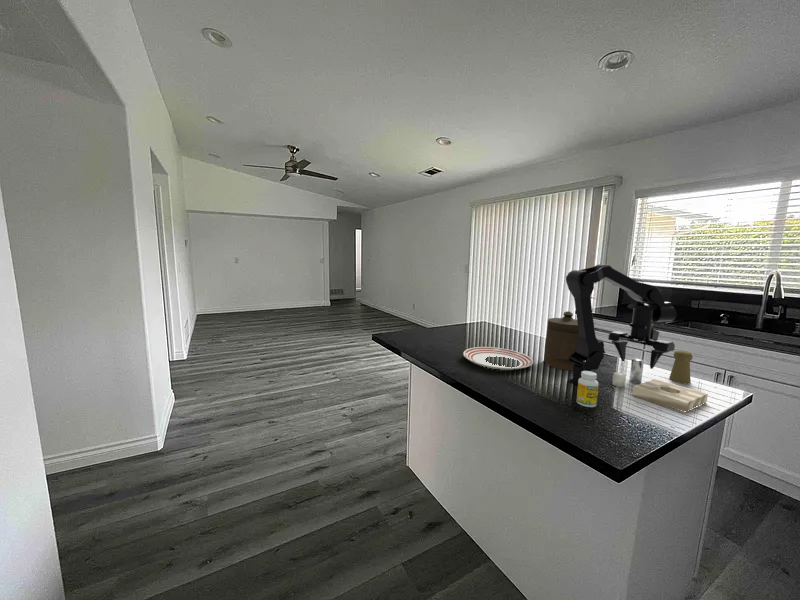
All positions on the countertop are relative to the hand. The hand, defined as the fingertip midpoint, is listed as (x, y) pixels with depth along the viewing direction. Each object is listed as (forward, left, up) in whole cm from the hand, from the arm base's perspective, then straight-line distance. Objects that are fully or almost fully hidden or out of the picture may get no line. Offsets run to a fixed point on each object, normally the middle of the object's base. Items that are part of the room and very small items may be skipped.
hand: (636, 364), depth 121 cm
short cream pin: (-9, +1, -6) cm, 11 cm away
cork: (+16, -7, -7) cm, 19 cm away
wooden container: (-6, +24, -7) cm, 25 cm away
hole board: (-7, -13, -6) cm, 16 cm away
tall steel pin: (0, 0, -6) cm, 6 cm away
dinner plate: (-29, +38, -7) cm, 48 cm away
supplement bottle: (-34, -3, -7) cm, 35 cm away
